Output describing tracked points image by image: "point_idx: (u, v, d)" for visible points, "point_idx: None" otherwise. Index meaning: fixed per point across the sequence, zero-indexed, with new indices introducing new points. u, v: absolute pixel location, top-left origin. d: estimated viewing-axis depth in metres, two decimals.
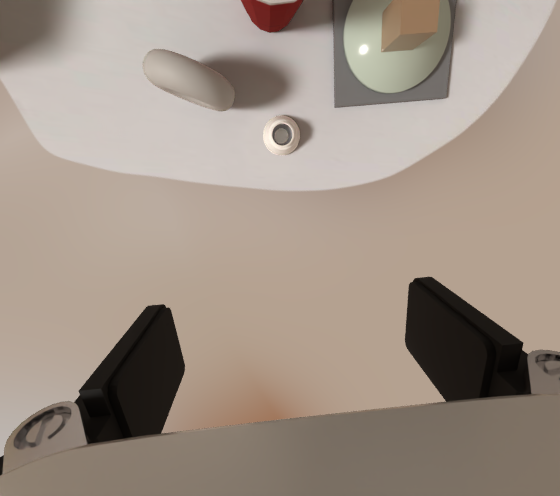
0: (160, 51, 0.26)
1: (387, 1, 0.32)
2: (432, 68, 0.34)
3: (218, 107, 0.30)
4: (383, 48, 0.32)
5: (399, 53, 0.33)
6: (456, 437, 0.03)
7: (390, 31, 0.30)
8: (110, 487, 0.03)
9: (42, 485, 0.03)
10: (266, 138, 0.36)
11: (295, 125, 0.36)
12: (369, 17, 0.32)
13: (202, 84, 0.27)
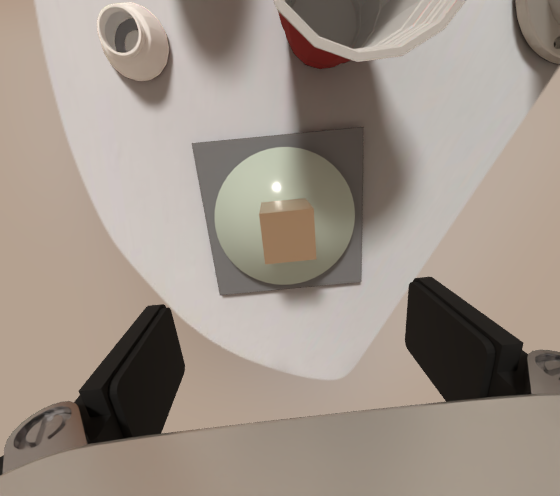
0: None
1: (317, 202, 0.24)
2: (247, 272, 0.26)
3: None
4: (263, 203, 0.23)
5: None
6: (457, 436, 0.03)
7: (275, 206, 0.22)
8: (110, 487, 0.03)
9: (43, 485, 0.03)
10: (117, 3, 0.19)
11: (150, 67, 0.21)
12: (300, 180, 0.24)
13: None
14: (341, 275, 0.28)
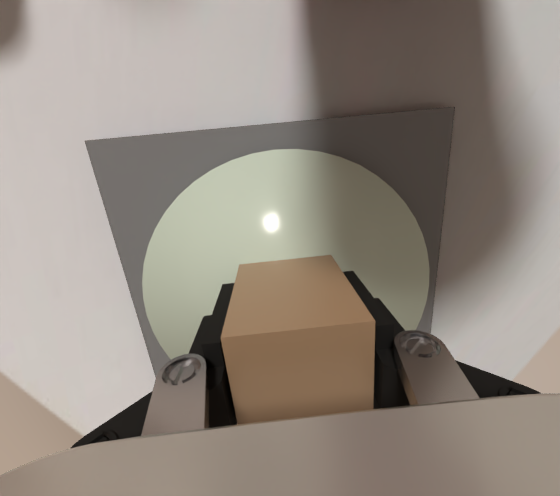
0: None
1: (354, 263, 0.12)
2: None
3: None
4: (242, 270, 0.11)
5: None
6: (457, 437, 0.03)
7: (267, 288, 0.09)
8: (110, 486, 0.03)
9: (43, 484, 0.03)
10: None
11: None
12: (321, 221, 0.11)
13: None
14: None
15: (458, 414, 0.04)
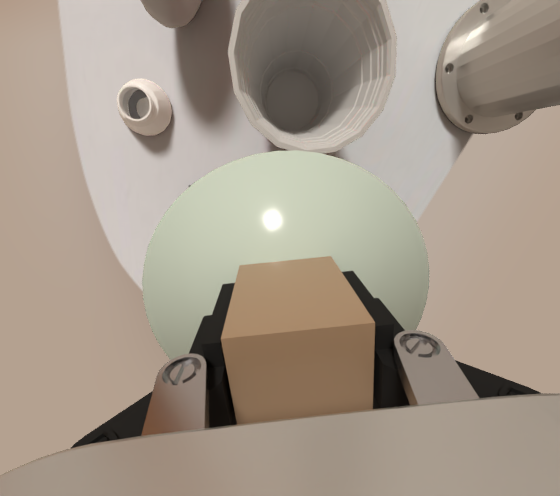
0: None
1: (354, 264, 0.12)
2: None
3: None
4: (242, 271, 0.11)
5: None
6: (457, 437, 0.03)
7: (267, 289, 0.09)
8: (110, 487, 0.03)
9: (42, 485, 0.03)
10: (132, 81, 0.25)
11: (156, 127, 0.26)
12: (321, 222, 0.11)
13: None
14: None
15: (458, 414, 0.04)
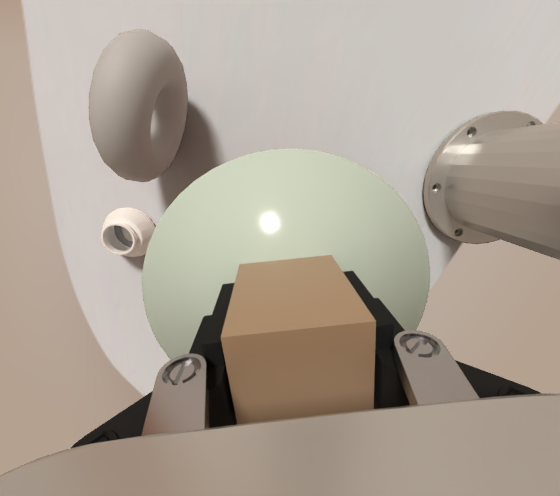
0: (144, 69, 0.15)
1: (355, 263, 0.12)
2: None
3: None
4: (242, 270, 0.11)
5: None
6: (456, 437, 0.03)
7: (267, 288, 0.09)
8: (110, 487, 0.03)
9: (43, 485, 0.03)
10: (116, 214, 0.25)
11: (142, 252, 0.27)
12: (321, 221, 0.11)
13: (103, 141, 0.16)
14: None
15: (458, 414, 0.04)
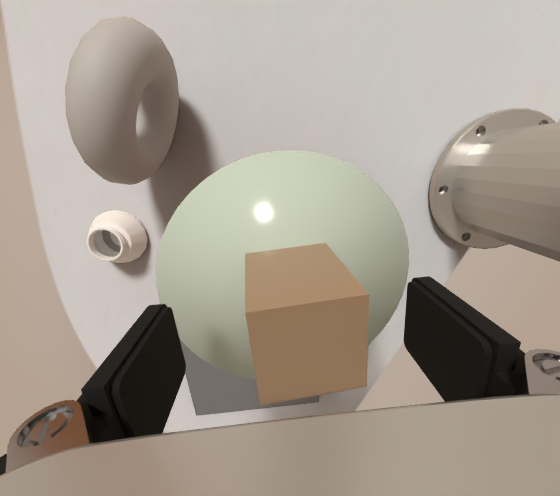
0: (126, 60, 0.14)
1: (345, 249, 0.14)
2: (223, 367, 0.15)
3: None
4: (248, 258, 0.12)
5: None
6: (457, 437, 0.03)
7: (275, 272, 0.11)
8: (110, 487, 0.03)
9: (43, 485, 0.03)
10: (103, 218, 0.24)
11: (131, 258, 0.25)
12: (317, 213, 0.13)
13: (82, 140, 0.15)
14: None
15: (458, 414, 0.04)
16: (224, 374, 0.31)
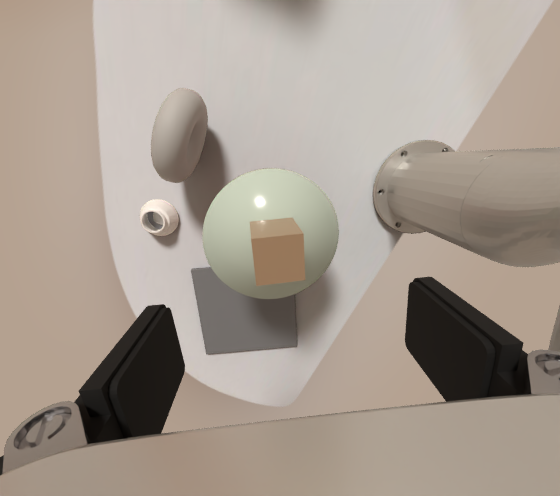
0: (187, 115, 0.25)
1: (303, 221, 0.25)
2: (234, 288, 0.27)
3: None
4: (251, 223, 0.24)
5: (249, 246, 0.25)
6: (456, 437, 0.03)
7: (264, 227, 0.22)
8: (110, 487, 0.03)
9: (42, 485, 0.03)
10: (151, 204, 0.35)
11: (168, 232, 0.37)
12: (287, 201, 0.24)
13: (159, 157, 0.26)
14: (284, 342, 0.44)
15: (458, 414, 0.04)
16: (228, 321, 0.42)
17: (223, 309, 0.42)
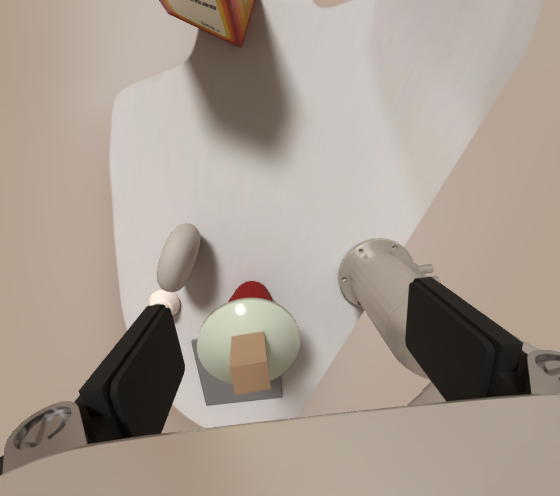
0: (183, 254, 0.34)
1: (272, 333, 0.34)
2: (223, 380, 0.35)
3: None
4: (232, 340, 0.32)
5: None
6: (457, 437, 0.03)
7: (241, 349, 0.31)
8: (110, 487, 0.03)
9: (42, 485, 0.03)
10: (157, 295, 0.44)
11: None
12: (259, 321, 0.33)
13: (163, 284, 0.35)
14: (271, 394, 0.52)
15: (458, 414, 0.03)
16: None
17: None
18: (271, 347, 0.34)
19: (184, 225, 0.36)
